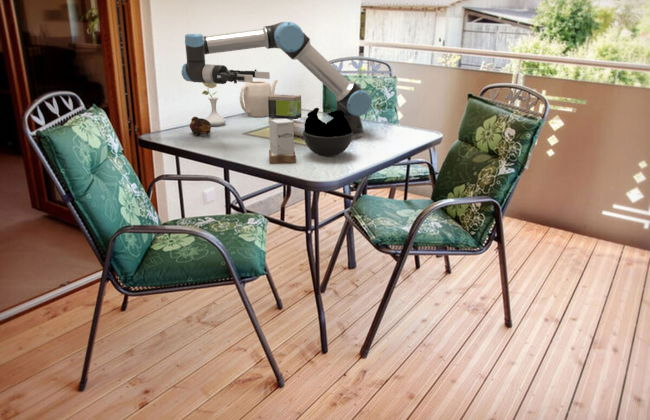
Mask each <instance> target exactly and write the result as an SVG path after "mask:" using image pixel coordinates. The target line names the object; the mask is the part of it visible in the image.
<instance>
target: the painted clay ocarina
mask: <svg viewBox="0 0 650 420" xmlns="http://www.w3.org/2000/svg"><path fill="white" fill-rule="evenodd" d="M189 128H190V131H191V132H192V135H195V136H196V137H200V136H201V134H205V135H207V136H208V135H210V133H211V129H212V126H211V124H210V122H209V121H207V120H206V118H199V117H198V116H193V117H192V118H191V122H190V123H189Z"/></svg>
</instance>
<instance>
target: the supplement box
mask: <svg viewBox="0 0 650 420" xmlns="http://www.w3.org/2000/svg"><path fill="white" fill-rule="evenodd" d="M269 123H270V124H269ZM268 124H269V150H270V151H271V152H272V153H274V154H276V155H281V154H292V153H294V151H295V141H294V139H295V136H294V135H295V134H294V133H295V127H294V122H293V121H291V120H289V119H274V120H269V119H268Z"/></svg>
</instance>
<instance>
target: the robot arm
mask: <svg viewBox="0 0 650 420" xmlns="http://www.w3.org/2000/svg"><path fill="white" fill-rule="evenodd" d="M184 45H185V55H186V63H184V64H183V65H182V66H181V76H182V79H183V80H185V81H187V82H190V83H202V84H203V83H210V85H212V83H216V84H218V85H225V84H227V83H228V82H231V83H232V82H233V84H237V83H246V82H251V83H252V82H253V81H254V79H253V78H255V79H261V80H263V79H265V80H270V79H271V76H270V74H271V73H270V71H258V70H257V69H256V68H255V69H254V70H239V69H238V70H233V69H228V67H227V66H226V65H222V64H209V63H207V64H206V56H205V55H210V54H211V55H212V54H217V53H218V54H220V53H226V52H235V51H242V50H249V49H258V48H266V49H267V50H270V49H278V50H279V49H280V50H281V51H282V52H284V53H285V54H286V55H287V57H289V59H291V60H297V61H298V62H299V63H300V64H301V65H303V67H305V69H307V70H308V71H309V73H311V74H313V76H314V77H315V78H317V80H319V81H320V82H321V83H322V84H323V85H324V86H325V87H327V89H328V90H329V91H330V92H331V93H333V94H334V96H335V101H336V105H335V106H336V108H335V110H342V111H343V112H344V114H345V118H346V119H347V121H348V123H349V126H350V127H351V130H352V132H353V134H359V133H362V132H363V131H364V127H363V122H362V118H361V117H362V116H364V115H365V114H367V113H368V112H369V110H370V109H371V107H372V98H371V96H370V94H369V92H367V91H365V90H364V89H362V85H361V83H356V82H355V81H354V80H348V79H347V78H346V77H345V76H344V75H343V74H342V73H341V72H340V71H339V70H338V69H337V68H336V67H334V65H333V64H331V62H329V61H328V60H327V59H326V58H325V57H324V56H323V55H322V54H321V53H320V52H319V51H318V50H317V49H316V48H315V47H314V46H313V45H312V44H311V38H310V37H309V36H308V35H307V34H306V33H305V32H303V30H302V28H301V27H300V26H299V25H298V24H297V23H295V22H292V21H282V22H278V23H275V24H271V25H265V26H263V27H262V28H260V29H253V30H244V31H237V32H235V31H234V32H229V33H228V32H227V33H220V34H213V35H211V34H210V35H205V36H204V35H203V34H202V33H186V34H185V35H184Z"/></svg>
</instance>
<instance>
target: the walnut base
mask: <svg viewBox="0 0 650 420" xmlns="http://www.w3.org/2000/svg"><path fill="white" fill-rule="evenodd" d="M268 156H269V157H268V159H269V161H268V162H269V165H281V164H282V165H285V164H297V161H296V160H297V158H296V152H295V150H294V153H292V154H281V155H276V154H274V153H272V152H271V151H270V149H268Z"/></svg>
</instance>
